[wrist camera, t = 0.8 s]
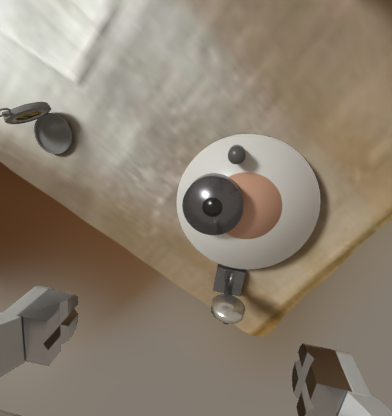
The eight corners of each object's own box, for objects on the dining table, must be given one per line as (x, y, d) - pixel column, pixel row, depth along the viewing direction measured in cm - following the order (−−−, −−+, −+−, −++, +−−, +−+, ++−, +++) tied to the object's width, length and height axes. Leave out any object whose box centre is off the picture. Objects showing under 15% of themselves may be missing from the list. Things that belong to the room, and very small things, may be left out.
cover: (190, 168, 43) (186, 172, 40) (248, 178, 42) (248, 183, 39) (182, 222, 46) (178, 229, 43) (237, 232, 45) (236, 240, 42)
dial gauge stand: (219, 257, 51) (213, 298, 39) (246, 262, 50) (248, 306, 39) (213, 286, 53) (206, 333, 41) (240, 292, 52) (240, 341, 41)
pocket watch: (64, 160, 49) (23, 172, 40) (23, 132, 49) (-29, 136, 39) (84, 121, 46) (45, 122, 37) (41, 89, 46) (-10, 83, 36)
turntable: (189, 122, 44) (181, 124, 38) (333, 145, 42) (348, 150, 36) (173, 247, 51) (165, 263, 46) (295, 272, 49) (302, 292, 44)
